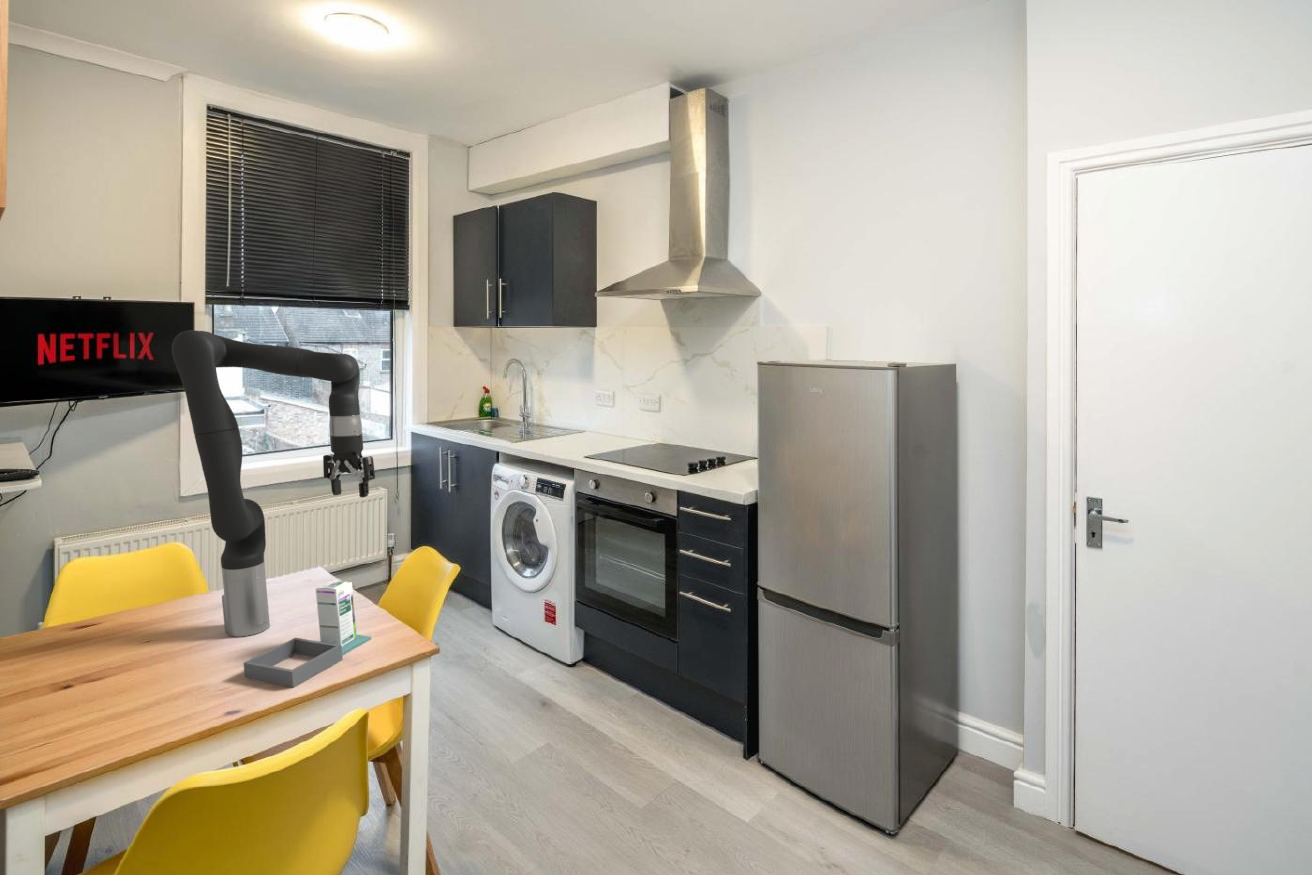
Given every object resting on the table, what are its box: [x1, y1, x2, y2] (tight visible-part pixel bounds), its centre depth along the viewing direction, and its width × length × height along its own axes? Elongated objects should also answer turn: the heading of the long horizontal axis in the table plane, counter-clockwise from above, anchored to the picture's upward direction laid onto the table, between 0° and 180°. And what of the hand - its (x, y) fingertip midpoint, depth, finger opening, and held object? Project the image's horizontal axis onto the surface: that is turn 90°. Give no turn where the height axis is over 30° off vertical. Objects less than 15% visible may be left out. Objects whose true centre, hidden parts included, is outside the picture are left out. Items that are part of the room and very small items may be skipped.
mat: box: [319, 633, 372, 656], centre depth 164 cm, size 10×10×1 cm
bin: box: [243, 637, 343, 688], centre depth 152 cm, size 14×14×4 cm
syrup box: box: [315, 579, 358, 647], centre depth 163 cm, size 6×6×14 cm
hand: (350, 495), depth 175 cm, fingers open, 8 cm apart
